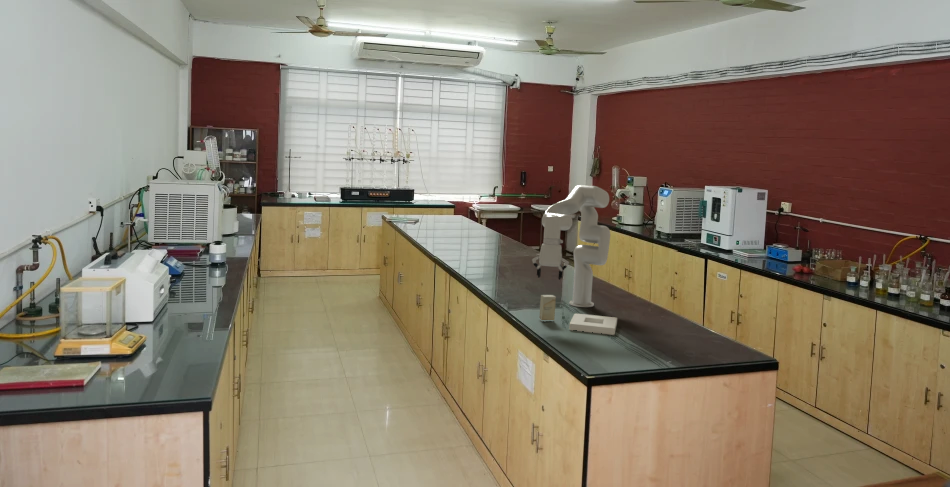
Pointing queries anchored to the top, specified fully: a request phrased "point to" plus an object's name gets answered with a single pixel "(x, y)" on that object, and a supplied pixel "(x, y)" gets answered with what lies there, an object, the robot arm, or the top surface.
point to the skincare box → (547, 307)
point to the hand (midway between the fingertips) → (549, 278)
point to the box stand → (593, 324)
